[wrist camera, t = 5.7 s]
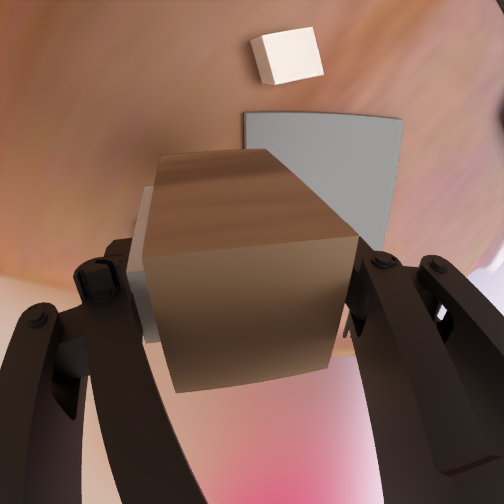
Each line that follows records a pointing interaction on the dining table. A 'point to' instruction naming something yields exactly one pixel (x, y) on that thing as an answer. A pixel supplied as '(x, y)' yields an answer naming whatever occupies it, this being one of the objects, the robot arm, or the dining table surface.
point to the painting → (501, 4)
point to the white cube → (287, 56)
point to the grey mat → (336, 160)
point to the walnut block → (243, 269)
